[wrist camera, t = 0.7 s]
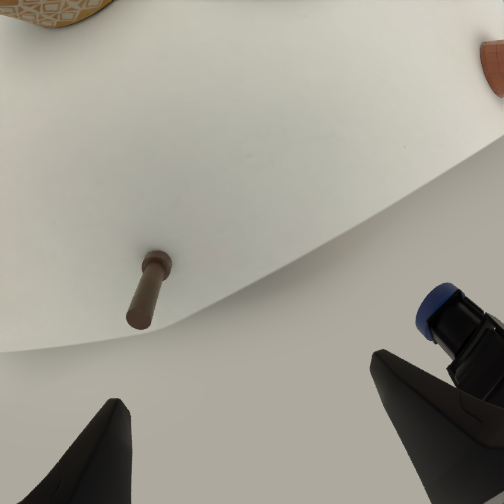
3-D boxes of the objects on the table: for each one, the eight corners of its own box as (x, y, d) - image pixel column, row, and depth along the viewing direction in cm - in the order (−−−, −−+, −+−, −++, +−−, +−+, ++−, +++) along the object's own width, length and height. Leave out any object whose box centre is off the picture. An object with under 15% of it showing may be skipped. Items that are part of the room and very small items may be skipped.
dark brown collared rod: (158, 280, 24) (141, 340, 16) (138, 262, 23) (112, 317, 15) (177, 263, 23) (165, 321, 16) (157, 244, 22) (135, 295, 15)
